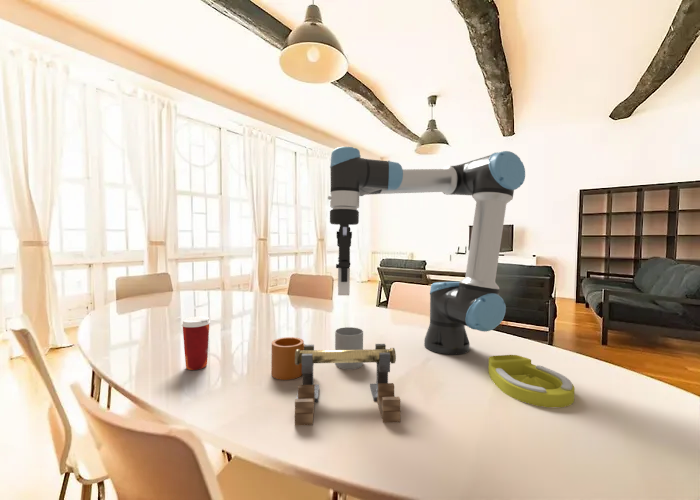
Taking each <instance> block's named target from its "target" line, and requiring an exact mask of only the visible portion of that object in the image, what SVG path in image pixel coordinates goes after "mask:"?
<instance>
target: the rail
mask: <svg viewBox="0 0 700 500" xmlns="http://www.w3.org/2000/svg"><path fill="white" fill-rule="evenodd" d="M379 353H390V364H396V361H397V360H396V359H397V356H396V355H397V354H396V349H395V347H390V348H389V349H388V348H386V349H373V348H371V349H363V350H335V349H317V350H316V349H314V350H300V349H296V351H295V365H299V364H302V354H313V363H314V364H335V363H363V364H364V363H367V364H368V363H376V362H379Z"/></svg>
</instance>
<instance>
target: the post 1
mask: <svg viewBox="0 0 700 500" xmlns="http://www.w3.org/2000/svg"><path fill="white" fill-rule="evenodd" d="M304 350H315V344H305V345H304ZM313 364H314V365H315V363H313V354H302V374H303V375H302V385H315V403H318V402H319V393H320V391H319V390H320V384H314V365H313ZM295 399H298V391H297V394H296V397H295Z"/></svg>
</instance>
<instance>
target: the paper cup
mask: <svg viewBox="0 0 700 500" xmlns="http://www.w3.org/2000/svg"><path fill="white" fill-rule="evenodd" d="M210 324H211V320H210V317H209V316H203V315H202V316H200V315H199V316H192V317H191V316H190V317H187V318H185V319H183V320H182V323H181V327H182V336H183V348H184V361H185V368H186V370H189V371H197V370H201V369H203V368H206V367H207V366H208V358H209V357H208V354H209V335H210Z"/></svg>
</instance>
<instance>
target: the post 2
mask: <svg viewBox="0 0 700 500" xmlns="http://www.w3.org/2000/svg"><path fill="white" fill-rule="evenodd" d="M386 347H387V345H386V343H375V349H387V348H386ZM375 363H376V383H369V387H370V391H371V392H370V393H371V396H372V399H373V401H374V402H377V393H378V383H389V373H390V372H391V362H390V353H379V362H375ZM394 397H396V396H395V395H394Z"/></svg>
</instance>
